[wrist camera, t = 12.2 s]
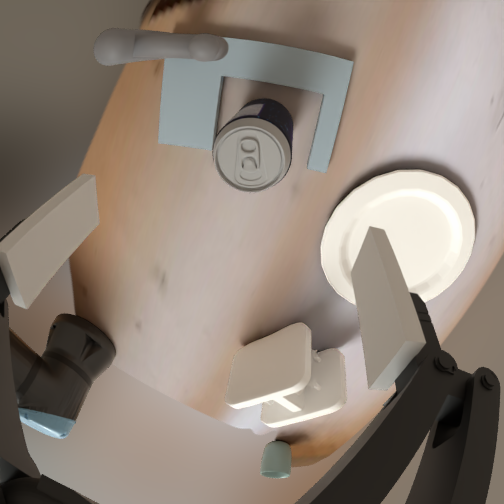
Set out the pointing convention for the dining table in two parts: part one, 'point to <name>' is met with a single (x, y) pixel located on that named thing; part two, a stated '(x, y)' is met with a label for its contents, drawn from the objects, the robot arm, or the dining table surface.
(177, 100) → the l-shaped desk stand
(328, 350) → the cable organizer
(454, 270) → the plate
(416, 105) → the dining table surface
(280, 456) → the cup
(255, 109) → the beverage can
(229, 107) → the dining table surface
